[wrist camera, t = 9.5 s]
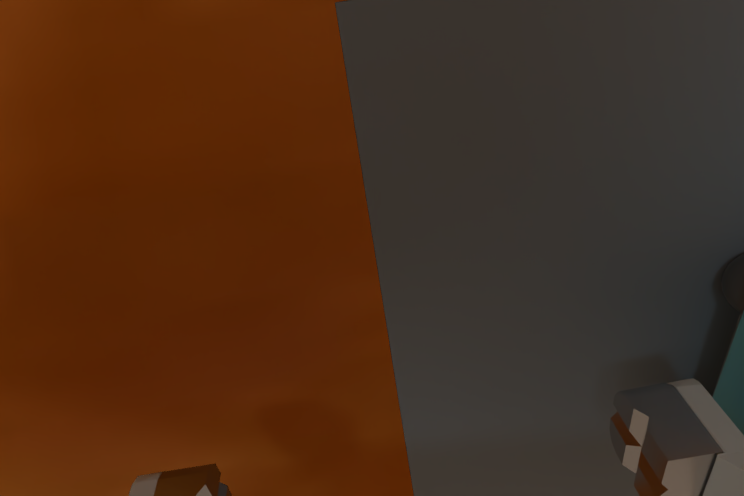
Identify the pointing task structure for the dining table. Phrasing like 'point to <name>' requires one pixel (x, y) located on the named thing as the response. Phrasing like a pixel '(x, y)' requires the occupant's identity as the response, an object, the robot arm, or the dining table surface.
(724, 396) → the teal handled box
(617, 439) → the robot arm
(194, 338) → the dining table surface
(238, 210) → the dining table surface
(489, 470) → the loading dock
